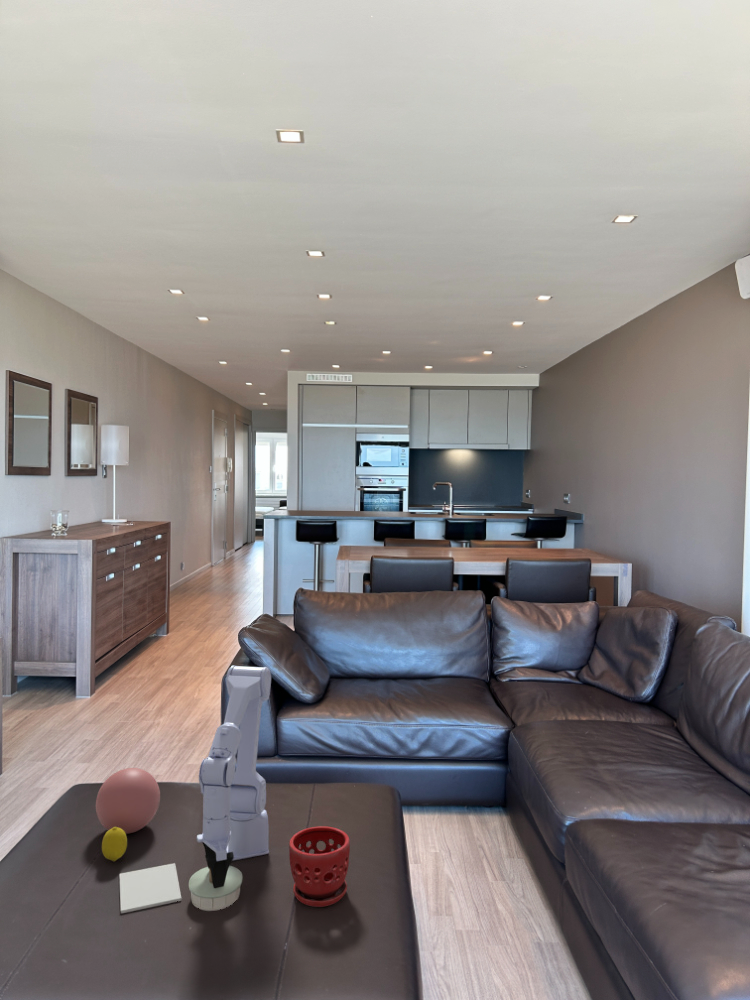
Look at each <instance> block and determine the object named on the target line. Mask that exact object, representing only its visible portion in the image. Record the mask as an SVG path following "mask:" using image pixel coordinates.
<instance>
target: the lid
mask: <svg viewBox="0 0 750 1000" xmlns="http://www.w3.org/2000/svg"><path fill="white" fill-rule="evenodd" d="M242 884H243V873H242V871H240V870H239V869H238V868H237V867H235V866H232V865H230V866H229V868H228V871H227V875H226V880H225V884H224V886H223V887H219V888H214V887H213V883H212V877H211V871H210V867H209V868H208V866H206V867H203V868H201V869H199V870H197V871H195V872H194V873H193V874H192V875H191V876H190V878H189V880H188V890H189V892H190V894H191V893H192V894H194V895H196V896H198V897H201V898H219V897H223V896H226V895H229V894H231V893H233V892H234V891H236V890H237V889H238V888H239V887H240V888H241V886H242Z"/></svg>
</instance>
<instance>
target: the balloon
mask: <svg viewBox="0 0 750 1000" xmlns="http://www.w3.org/2000/svg"><path fill="white" fill-rule="evenodd" d="M160 801H161V790H160V787H159V784H158V782H157V780H156V778H155V777H154V776H153V775H152V774H151V773H149V772H148V771H147V770H145V769H142V768H137V767H129V768H128V767H127V768H123V769H120V770H117V771H115V772H114V773H113V774H111V775H110V776H108V778H107V779H106V780H105V781H104V782H103V783H102V785H101V786H100V788H99V790H98V791H97V796H96V800H95V811H96V812H95V813H96V816H97V819H98V821H99V822H100V824H101V825H102V826H103V828H105V829H106V830H107V831H108V830H110V829H112V828H113V827H118V828H121V829H122V830H124V832H125V834H126V835H129V834H133V833H136V832H138V831H140V830H141V829H143V828H145V827H146V826H147V825H148V824H149V823H150V822H151V821H152V820H153V818H154V817H155V816H156V814H157V811H158V810H159V808H160V807H159V806H160Z"/></svg>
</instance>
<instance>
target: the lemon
mask: <svg viewBox="0 0 750 1000" xmlns="http://www.w3.org/2000/svg"><path fill="white" fill-rule="evenodd" d="M127 837H128V836H127V834H125V832H124V830H122V829H121V828H118V827H113V828H112V829H110V830H108V829H107V831H106V832H105V834H104V835H103V838H102V842H101V852H102V855H103V856H104V857H105V859H107V860H109V861H112V862H116V861H117V860H119V859H120V858H122V857H123V855H124V854H125V853H126V850H127V848H128V838H127Z"/></svg>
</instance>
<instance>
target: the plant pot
mask: <svg viewBox="0 0 750 1000" xmlns="http://www.w3.org/2000/svg"><path fill="white" fill-rule="evenodd" d="M330 840H332V841H333V843H331V842H330ZM350 841H351V840H350V837H349V835H348V834H347V833H346V832H345V831H343V830H341V829H340V828H336V827H332V826H326V825H325V826H323V825H321V826H319V825H318V826H312V827H307V828H304V829H302V830H299V831H297V832H296V833H295V834H293V836H292V837H291V838H290V839H289V841H288V842H289V845H288V846H289V847H288V849H289V851H288V853H289V855H288V857H289V867H290V871H291V876H292V879H293V881H294V884H293V895H294V897H295V898H296V899H297V900H298V901H299V902H300V903H302V904H304V905H306V906H309V907H313V908H314V907H315V908H316V907H317V908H319V907H320V908H321V907H328V906H331V905H334V904H336V903H337V902H339V901H340V900H341V899H342V898H343V897H344V896H345V895H346V892H347V890H348V883H347V881H346V877H347V875H348V870H349V863H350V860H349V859H350V851H351V850H350V849H351V848H350V847H351V845H350ZM308 842H310V845H309V846H307V843H308ZM319 842H323V843H324V844H325V847H324V849H319V848H318V846H317V844H318V843H319ZM338 846H340V847H338ZM311 850H313V853H310V851H311Z"/></svg>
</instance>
